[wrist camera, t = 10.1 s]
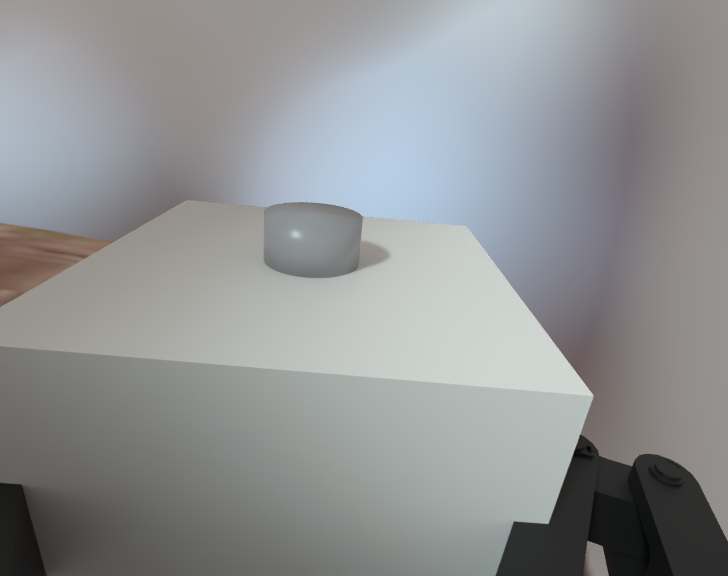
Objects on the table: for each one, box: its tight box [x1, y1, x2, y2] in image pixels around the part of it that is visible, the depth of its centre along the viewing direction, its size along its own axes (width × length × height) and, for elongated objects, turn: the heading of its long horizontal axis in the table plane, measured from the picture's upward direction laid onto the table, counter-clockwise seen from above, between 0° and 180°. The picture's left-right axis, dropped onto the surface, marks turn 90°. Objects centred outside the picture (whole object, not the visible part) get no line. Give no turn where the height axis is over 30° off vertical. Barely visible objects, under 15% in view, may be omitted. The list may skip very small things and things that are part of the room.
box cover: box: [0, 200, 593, 576], centre depth 13 cm, size 10×10×11 cm
